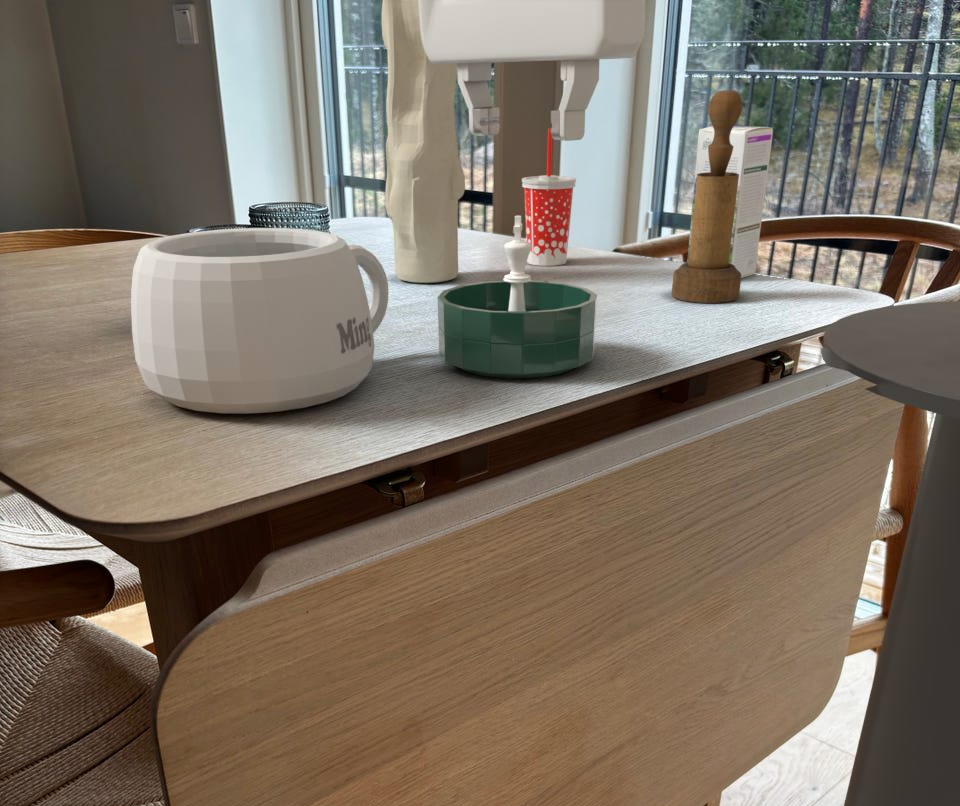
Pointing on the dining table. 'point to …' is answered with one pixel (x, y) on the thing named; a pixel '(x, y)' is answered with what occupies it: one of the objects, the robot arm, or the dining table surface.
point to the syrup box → (742, 188)
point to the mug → (254, 318)
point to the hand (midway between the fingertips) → (524, 137)
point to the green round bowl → (517, 329)
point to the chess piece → (517, 267)
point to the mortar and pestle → (713, 216)
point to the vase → (420, 151)
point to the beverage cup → (548, 215)
